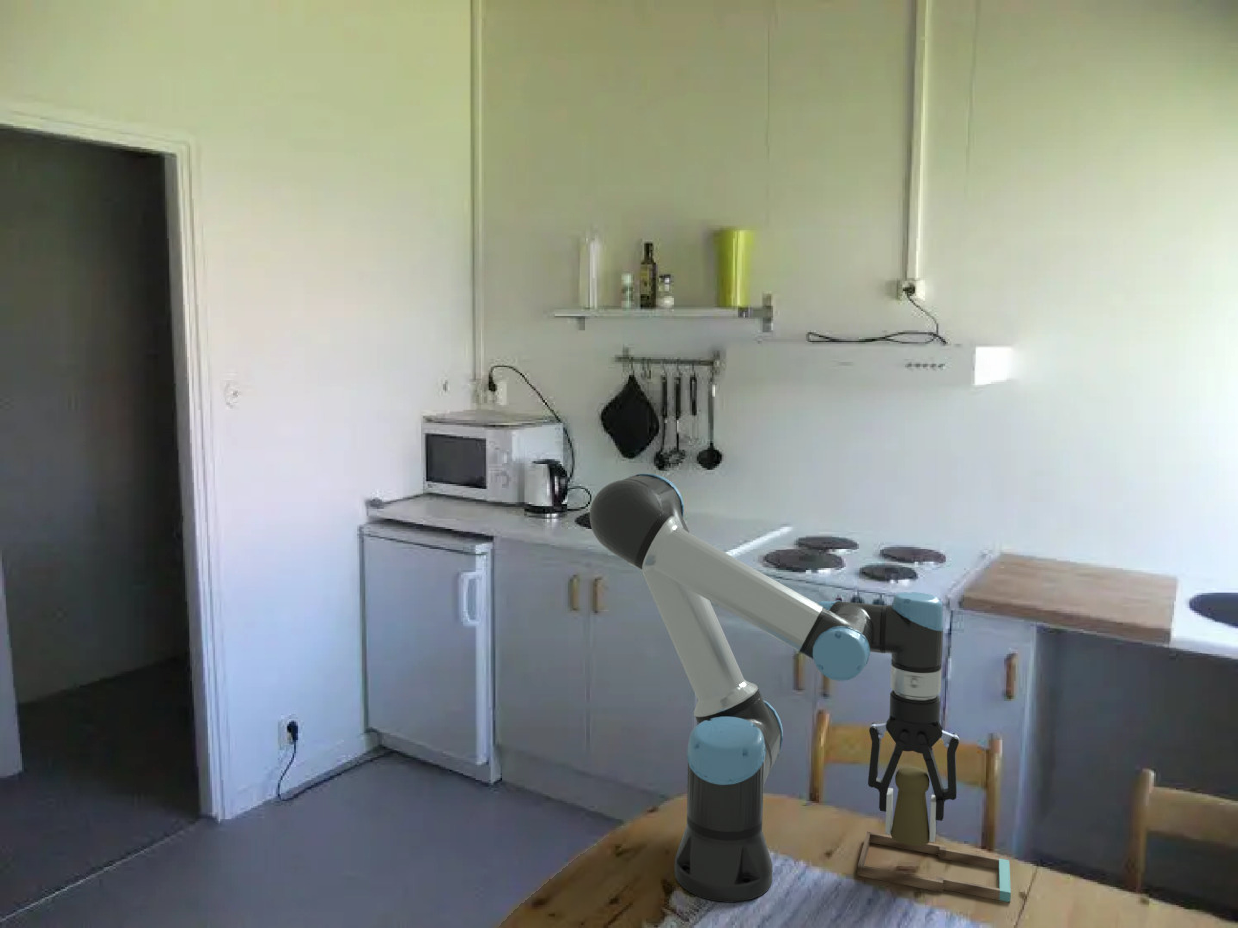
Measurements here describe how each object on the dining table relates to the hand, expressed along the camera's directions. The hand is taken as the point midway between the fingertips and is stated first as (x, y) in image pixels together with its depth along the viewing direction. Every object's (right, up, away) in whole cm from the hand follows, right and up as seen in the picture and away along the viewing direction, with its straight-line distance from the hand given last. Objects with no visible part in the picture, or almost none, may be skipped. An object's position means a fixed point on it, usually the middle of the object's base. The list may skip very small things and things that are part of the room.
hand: (910, 834), depth 150 cm
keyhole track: (+3, -5, -1) cm, 7 cm away
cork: (0, -1, 0) cm, 1 cm away
